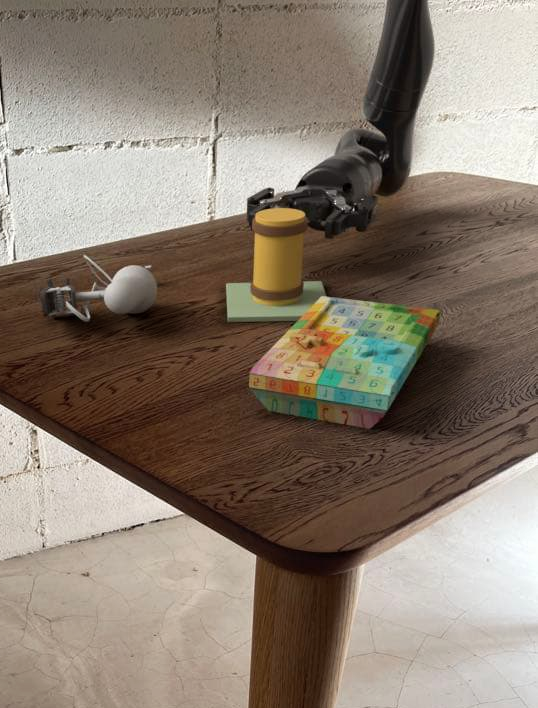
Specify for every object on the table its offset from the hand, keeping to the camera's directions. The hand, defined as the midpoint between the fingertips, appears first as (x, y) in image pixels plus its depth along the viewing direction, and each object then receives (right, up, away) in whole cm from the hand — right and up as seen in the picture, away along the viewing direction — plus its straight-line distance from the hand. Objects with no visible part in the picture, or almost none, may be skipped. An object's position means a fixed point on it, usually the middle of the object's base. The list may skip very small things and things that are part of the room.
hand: (290, 225), depth 95 cm
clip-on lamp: (-20, -9, +3) cm, 22 cm away
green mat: (-1, -8, +2) cm, 8 cm away
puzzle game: (+2, -20, -15) cm, 25 cm away
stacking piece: (-1, -8, +2) cm, 8 cm away
